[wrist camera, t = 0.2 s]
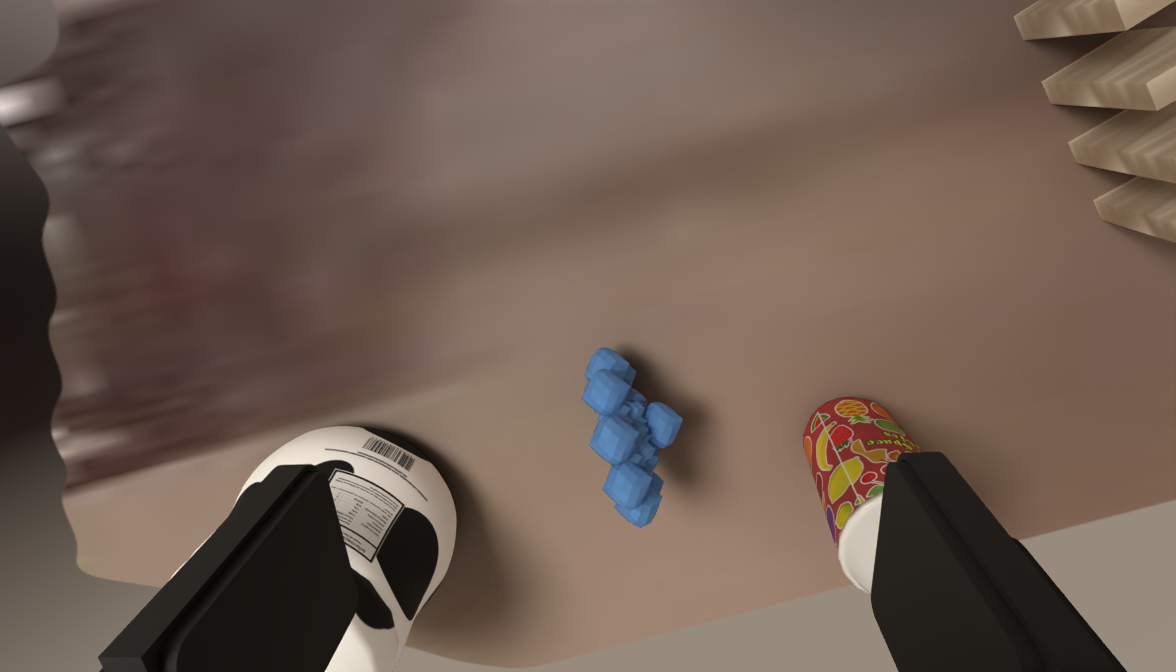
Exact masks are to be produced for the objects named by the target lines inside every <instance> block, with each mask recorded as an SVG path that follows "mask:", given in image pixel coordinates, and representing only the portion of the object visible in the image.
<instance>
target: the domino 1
mask: <svg viewBox="0 0 1176 672" xmlns="http://www.w3.org/2000/svg"><path fill="white" fill-rule="evenodd" d="M1174 1H1176V0H1038V1H1037V2H1035V3H1034V4H1032V5H1031V6H1029V7H1027V8H1026V9H1024V10H1023V11H1021V12H1020V13H1018V14H1017V15H1015V16H1014V20H1015V22H1016V24H1017V26H1018V29H1019V31H1020V33H1021V36H1022V38H1023V40H1031V39H1042V38H1053V37H1064V36H1075V35H1085V34H1096V33H1107V32H1118V31H1127V30H1128V29H1130V28H1132V27H1133V26H1135V25H1136V24H1138V23H1140V22H1141V21H1143V20H1145V19H1146V18H1148V17H1149V16H1151V15H1153V14H1154V13H1156V12H1158V11H1159V10H1161V9H1163V8H1164V7H1166V6H1167V5H1169V4H1171V3H1172V2H1174Z"/></svg>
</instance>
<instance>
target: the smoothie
mask: <svg viewBox="0 0 1176 672" xmlns="http://www.w3.org/2000/svg"><path fill="white" fill-rule="evenodd" d="M803 446H804V449H805V452H806V455H807V458H808V462H809V465H810V468H811V471H812V474H813V477H814V480H815V483H816V486H817V489H818V493H819V496H820V499H821V502H822V505H823V508H824V511H825V514H826V517H827V520H828V524H829V527H830V530H831V533H832V536H833V539H834V542H835V545H836V548H837V553H838V558H839V561H840V563H841V566H842V569H843V572H844V574H845V575H846V576H847V577H848V578H849V579H850V581H851V582H852V583H853V584H854V585H855V586H856V587H858V588H860V589H861V590H863V591H865V592H867V593H869V594H870V595H871V587H872V579H873V571H874V562H875V554H876V546H877V537H878V529H879V521H880V512H881V504H882V496H883V488H884V479H885V471H886V466H887V464H888V463H889V462H897V459H898V457H899V455H900V454H901V453H903V452H922V450H921V449H920V448H919V447H918V446H917V445H916V444H915V443H914V442H913V441H912V439H911V438H910V437H909V436H908V435H907V434H906V433H905V432H904V431H903V430H902V428H901V427H900V426H899V425H898V424H897V423H896V422H895V421H894V420H893V419H892V417H891V416H890V415H889V414H888V413H887V412H886V411H885V410H884V408H882V407H880V406H879V405H877V404H875V403H874V402H872V401H868V400H863V399H858V398H852V397H848V398H838V399H835V400H832V401H829V402H827V403H825V404H824V405H822V406H821V407H819V408H818V409H817V410H816V411H815V413H814V414H813V415H812V416H811V418H810V420H809V422H808V424H807V427H806V429H805V432H804V439H803Z"/></svg>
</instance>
